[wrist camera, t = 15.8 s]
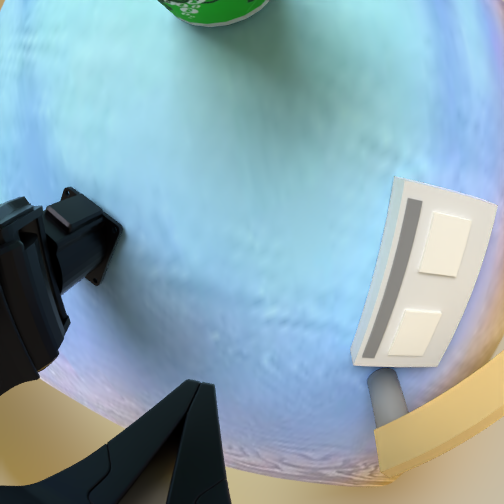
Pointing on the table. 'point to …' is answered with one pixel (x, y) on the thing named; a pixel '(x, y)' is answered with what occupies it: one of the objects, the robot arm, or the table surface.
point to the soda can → (213, 10)
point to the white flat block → (422, 275)
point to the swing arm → (432, 416)
